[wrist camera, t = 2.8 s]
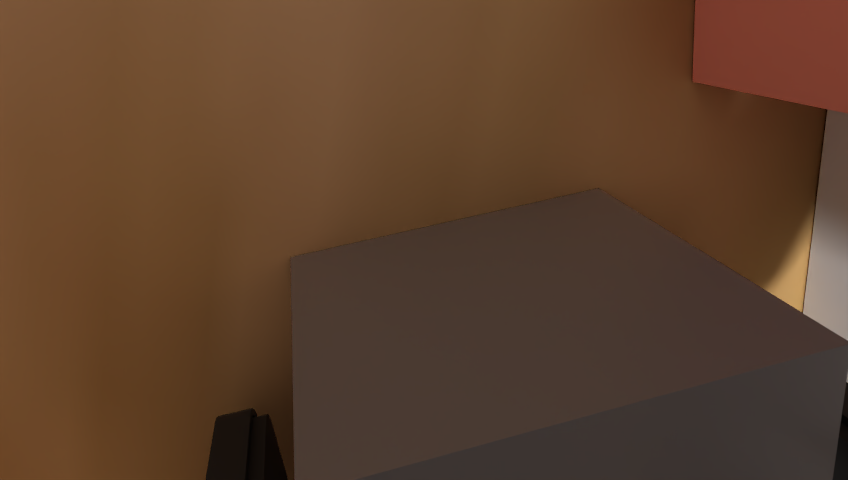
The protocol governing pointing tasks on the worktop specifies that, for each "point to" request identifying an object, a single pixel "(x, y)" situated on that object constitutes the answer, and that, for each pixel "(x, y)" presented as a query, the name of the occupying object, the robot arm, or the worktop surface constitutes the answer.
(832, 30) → the pink two-prong plug
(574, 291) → the gray rectangular box
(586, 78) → the worktop surface
